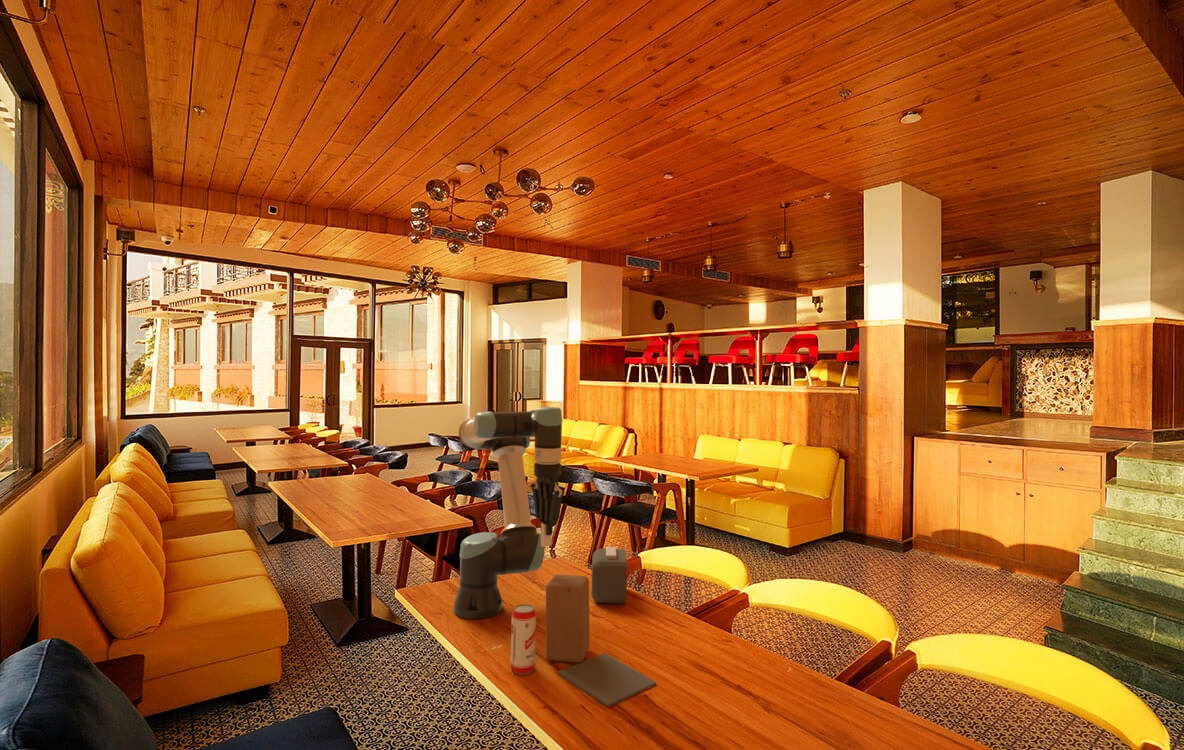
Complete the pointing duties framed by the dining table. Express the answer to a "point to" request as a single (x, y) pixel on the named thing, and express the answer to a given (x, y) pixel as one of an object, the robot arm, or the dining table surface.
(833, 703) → the dining table surface
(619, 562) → the alarm clock
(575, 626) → the wooden block
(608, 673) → the mat
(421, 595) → the dining table surface
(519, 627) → the beer can
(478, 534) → the robot arm
